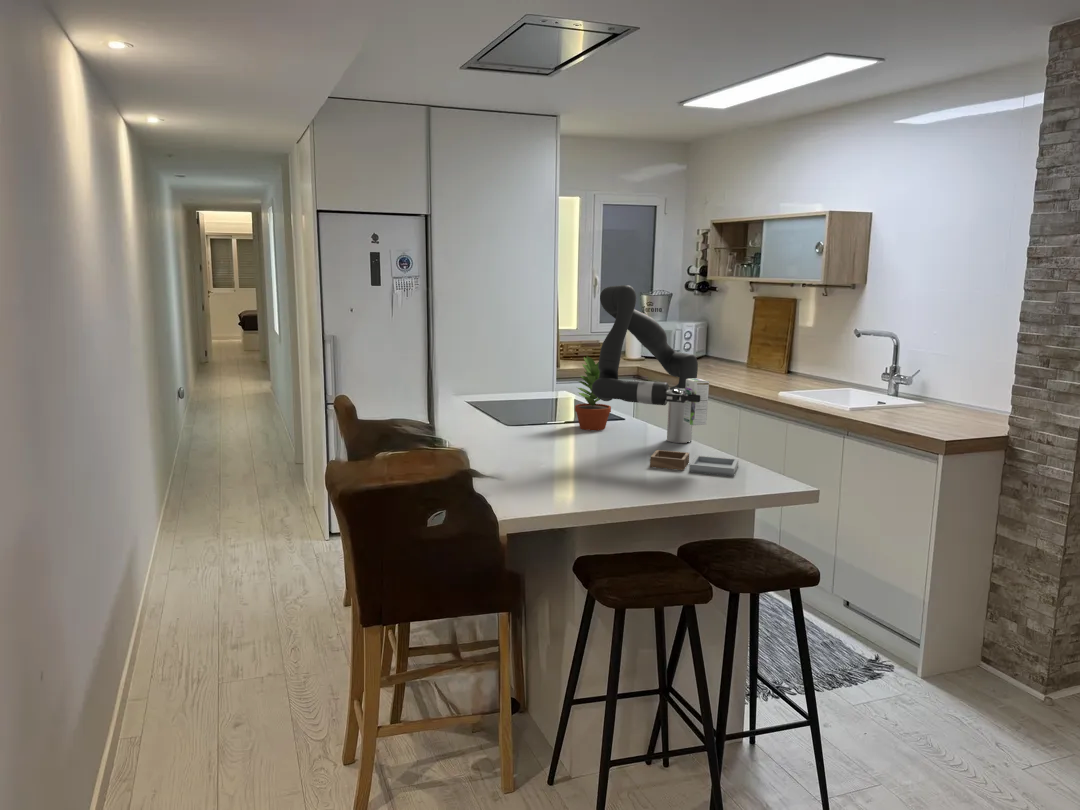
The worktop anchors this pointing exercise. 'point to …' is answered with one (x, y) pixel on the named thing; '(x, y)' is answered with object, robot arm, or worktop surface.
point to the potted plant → (591, 401)
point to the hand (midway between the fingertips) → (702, 396)
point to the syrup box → (696, 410)
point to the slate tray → (714, 465)
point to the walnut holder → (669, 459)
